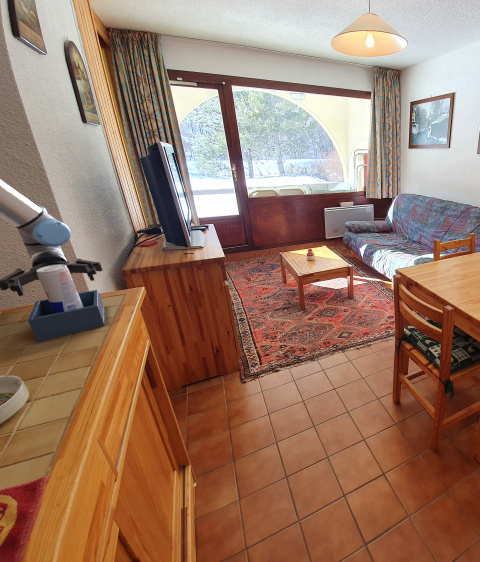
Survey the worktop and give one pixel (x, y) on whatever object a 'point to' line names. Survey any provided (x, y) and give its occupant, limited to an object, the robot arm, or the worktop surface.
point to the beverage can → (59, 288)
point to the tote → (67, 317)
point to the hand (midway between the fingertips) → (57, 283)
